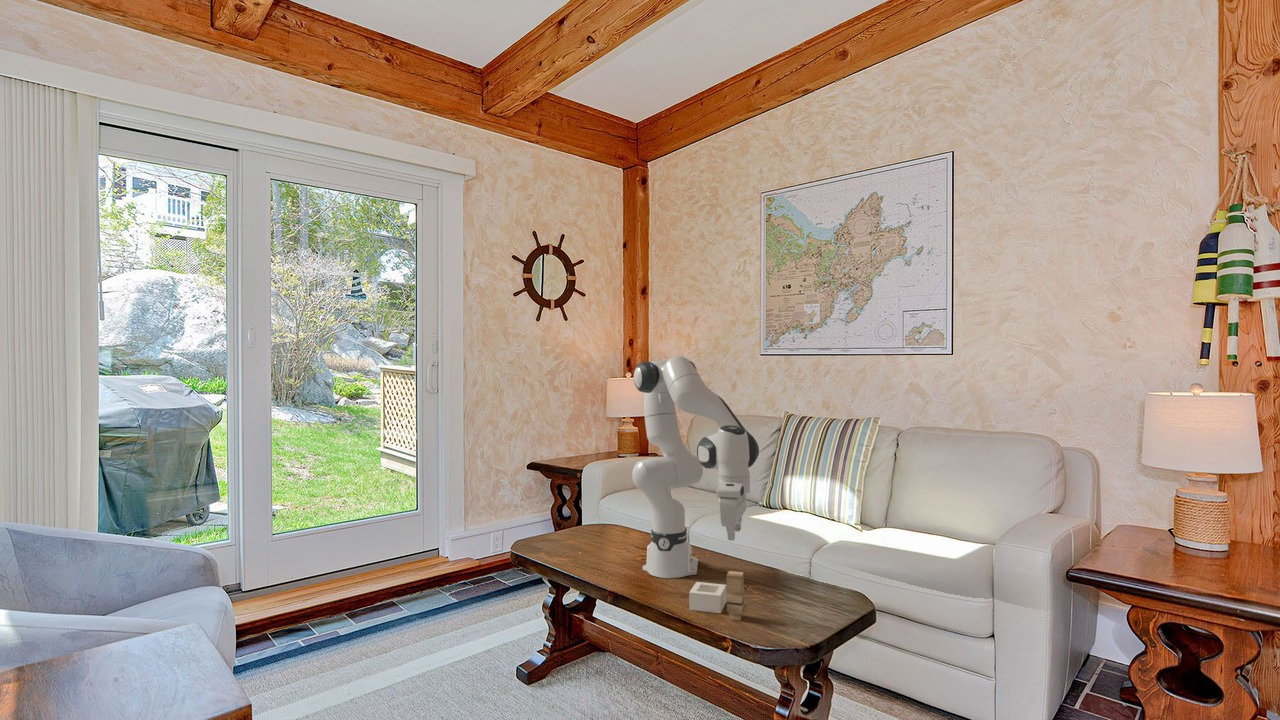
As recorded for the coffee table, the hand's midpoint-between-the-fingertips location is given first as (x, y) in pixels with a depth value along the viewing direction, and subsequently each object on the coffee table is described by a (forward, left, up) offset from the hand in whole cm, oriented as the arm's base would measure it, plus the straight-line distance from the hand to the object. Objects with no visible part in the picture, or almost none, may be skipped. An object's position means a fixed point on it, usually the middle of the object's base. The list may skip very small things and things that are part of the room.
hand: (734, 535), depth 176 cm
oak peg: (0, 0, -23) cm, 23 cm away
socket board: (-6, -9, -23) cm, 25 cm away
